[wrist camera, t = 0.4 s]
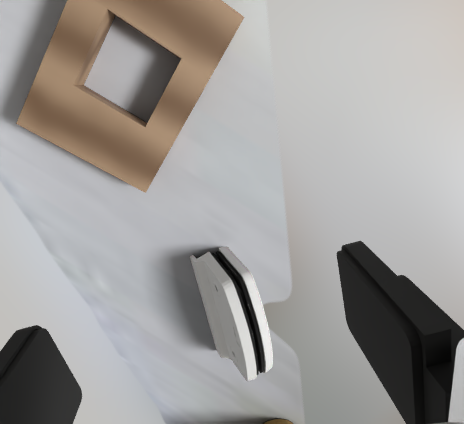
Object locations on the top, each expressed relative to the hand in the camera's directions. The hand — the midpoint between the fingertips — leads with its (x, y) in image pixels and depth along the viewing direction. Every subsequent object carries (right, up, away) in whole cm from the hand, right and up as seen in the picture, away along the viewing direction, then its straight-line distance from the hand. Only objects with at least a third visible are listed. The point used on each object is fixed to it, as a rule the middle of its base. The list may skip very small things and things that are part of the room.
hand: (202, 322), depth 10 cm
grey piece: (+1, -9, +36) cm, 37 cm away
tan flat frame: (-9, +18, +24) cm, 32 cm away
